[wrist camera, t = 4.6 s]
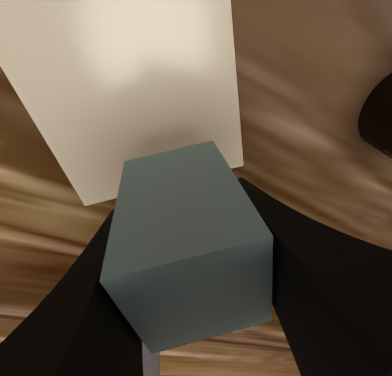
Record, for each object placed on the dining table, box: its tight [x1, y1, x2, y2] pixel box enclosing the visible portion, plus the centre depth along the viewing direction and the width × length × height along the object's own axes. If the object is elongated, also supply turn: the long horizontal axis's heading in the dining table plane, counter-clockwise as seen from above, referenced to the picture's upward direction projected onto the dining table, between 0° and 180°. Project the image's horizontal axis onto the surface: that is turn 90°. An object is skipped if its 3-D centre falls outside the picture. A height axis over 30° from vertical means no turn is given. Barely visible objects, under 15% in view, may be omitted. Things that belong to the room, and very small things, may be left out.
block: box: [99, 140, 273, 354], centre depth 9 cm, size 4×4×6 cm
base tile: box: [0, 0, 244, 206], centre depth 14 cm, size 12×12×2 cm
